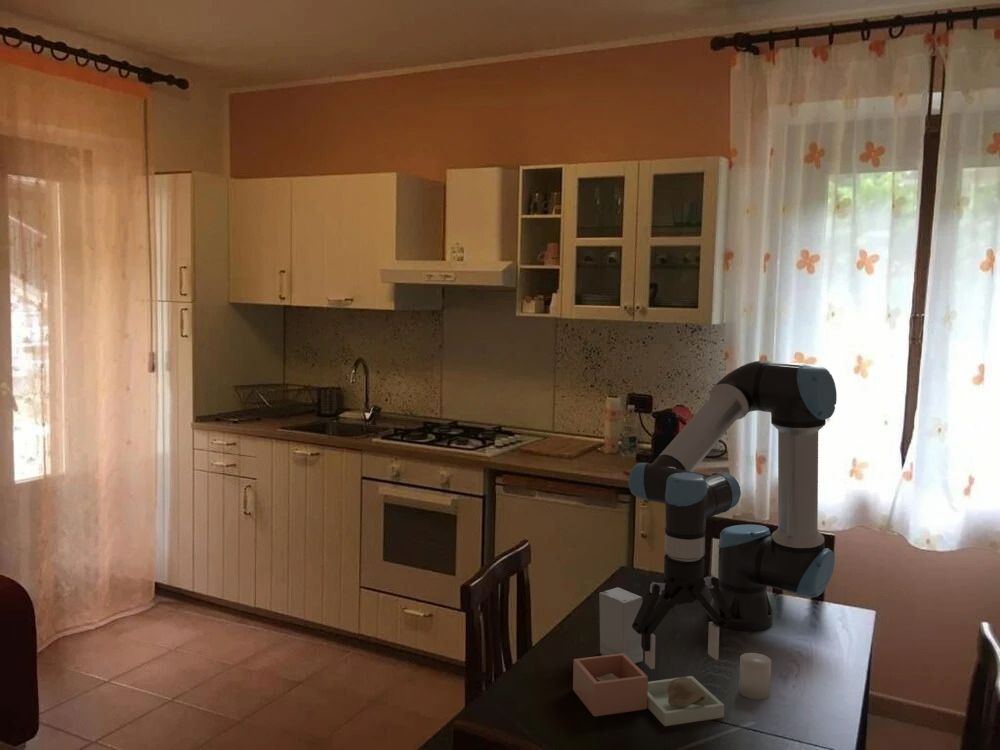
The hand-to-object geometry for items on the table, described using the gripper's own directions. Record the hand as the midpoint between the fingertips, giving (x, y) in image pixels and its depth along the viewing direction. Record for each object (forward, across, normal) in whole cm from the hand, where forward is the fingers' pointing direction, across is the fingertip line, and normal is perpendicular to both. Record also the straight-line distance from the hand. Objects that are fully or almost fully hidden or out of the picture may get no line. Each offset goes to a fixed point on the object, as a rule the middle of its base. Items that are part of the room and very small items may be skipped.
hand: (681, 661), depth 166 cm
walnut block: (+9, +13, -6) cm, 16 cm away
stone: (+8, 0, +3) cm, 8 cm away
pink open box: (+9, +13, -6) cm, 17 cm away
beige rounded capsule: (+10, -17, -2) cm, 20 cm away
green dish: (+9, +1, 0) cm, 10 cm away
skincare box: (+10, +3, -23) cm, 25 cm away
